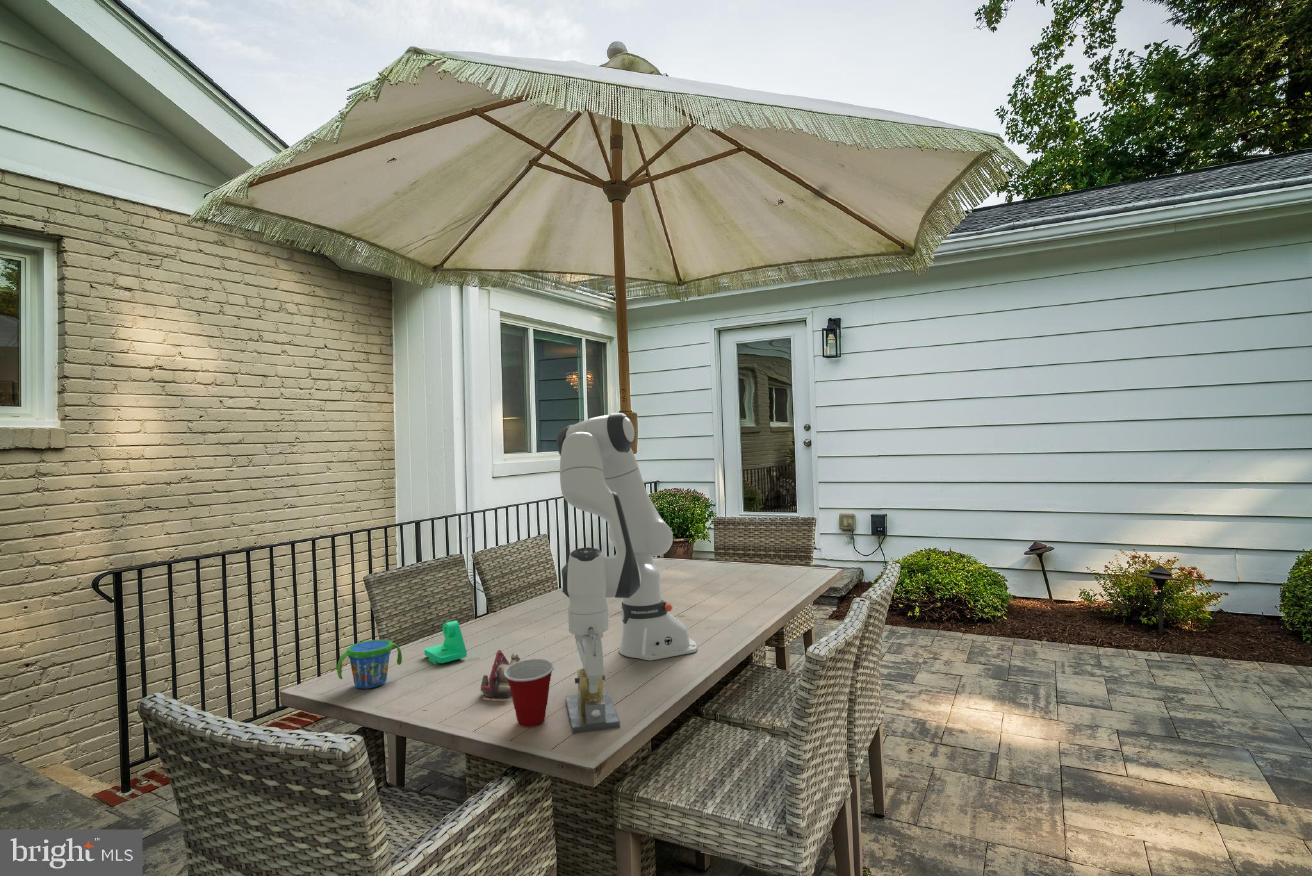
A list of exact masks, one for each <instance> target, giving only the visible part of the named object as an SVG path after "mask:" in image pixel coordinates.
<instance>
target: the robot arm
mask: <svg viewBox="0 0 1312 876" xmlns="http://www.w3.org/2000/svg"><path fill="white" fill-rule="evenodd" d="M635 440H636V432H635V427H634V423H633V421H632V420H631V418H630V417H629V416H627V415H626V414H625V413H623V412H612V413H609V414H605V415H600V416H594V417H591V418H590V417H589V418H588V419H586V420H583V421H580V422H577V423H575V424H569V425H567V426H565V427H563V428H561V430H560V431H558V434H557V437H556V440H555V441H556V448H557V452H558V454H559V456H560V460H559V462H560V463H559V482H560V491H561V495H562V497H563V498H564V500H565V501H566V502H567V503H568V504H570V506H572V507H574V508H576V509H578V510H580V511H583V512H585V513H590V514H593V515H595V516H598V517H600V518H602V519H603V520H605V521H606V522H607V523H608V526H609V528H608V536H609V539H610V541H611V543H612V545H613V547H614V548H615V549H614V550H615V552H616V553H615V555H611V556H604V554H603V552H602V550H600V549H598V548H595V547H589V546H588V547H586V546H585V547H581V548H577V549H574V550H572V551H571V552H570V553H569V557H568V562H567V563H566V564H565V565H564V566H563V567H562V568H561V578H562V579H561V580H562V591H561V592H562V593H563V594H564V595H565V596H566V597H567V598H568V599H569V603H568V608H567V611H568V612H567V613H568V614H567V615H568V616H567V617H568V618H567V619H568V632H569V634H572V635H574V639H575V643H576V648H577V652H578V655H579V658H580V660H581V663H582V666H583V668H582V669H584V670H585V673H586V676H587V678H589V692H590V693H597V692H598V679H599V677H602V676H603V675H605V673H604V671H605V668H604V667H605V666H604V654H603V653H604V652H603V644H602V640H601V639H602V638H603V637H604V633H605V632H606V631H608V630H609V611H608V610H609V609H608V602H607V599H608V598H609V599H610V598H615V599H622V601H621V609H620V610H621V621H622V632H621V641H620V644H619V645H620V646H619V648H618V649H619V650H618V652H619V654H621V655H622V656H624V657H627V658H628V657H629V658H635V659H641V660H645V661H655V660H661V659H666V658H671V657H676V656H681V655H687V654H692V653H696V652H697V650H698V645H697V643H696V641H695V640H694V639H692V638H690V637H689V633H688V629H687V627H686V625H685V624H684V622H682V621H681V620H679V619H678V618H676V617H675V616H674V615H672V614H671V613H669V612H671V611H672V610H673V605H672V604H671V603H670V602H668V601H665V600H664V599H662V595H661V594H662V591H661V589H662V588H661V575H660V574H661V573H660V571H659V569H658V568H657V566H656V564H655V561H654V559H653V557H659V556H660V557H661V556H662V555H664V554H666V553H667V552H668V551H669V550H670V548H671V547H672V545H673V541H674V535H673V531H672V529H671V527H670V526H669V525H668V524H667V523H666V522H665V521H664V519H663V518H662V517H661V515H660V514H659V511H658V510H657V508H656V507H655V504H654V503H653V501H652V500H651V498H650V496H649V494H648V492H647V489H646V486H645V483H644V480H643V477H642V474H641V471H640V467H639V465H638V461H637V459H636V455H635V453H634V451H633V449H632V447H633V445H634V442H635ZM606 598H607V599H606Z"/></svg>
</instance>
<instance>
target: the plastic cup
mask: <svg viewBox="0 0 1312 876" xmlns="http://www.w3.org/2000/svg"><path fill="white" fill-rule="evenodd" d="M554 668H555V666H554V663H553V662H552V661H551V660H549V659H545V658H529V659H522V660H519V662H516V663H514V664H512V665H510V666H508V667H507V668H506V669H505V670H504V676H505V677H506V678H507V680H508V682H509V686H510V689H511V693H510V695H511V699H512V704H513V708H514V710H515V716H516V720H517V723H518V725H519V726H521V727H524V728H531V727H536V726H539V725H542V724H543V723H544V721H545V718H546V713H547V706H548V700H549V699H548V698H549V691H550V684H551V680H552V679H551V678H552V674H553V670H554Z"/></svg>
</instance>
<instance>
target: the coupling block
mask: <svg viewBox="0 0 1312 876" xmlns="http://www.w3.org/2000/svg"><path fill="white" fill-rule="evenodd" d="M576 672H577V674H576V675H577V677H575V678H574V684H575V685H576V684H577V695H578V705H579V709H580V713H581V714H585V702H586V701H588V700H590V699H592V698H595V699H597V700H602V699H603V692H604V688H603V687H604V686H603V685H604V684H603V681H606V676H605V674H603V676H602V677H599V679H598V692H597V693H590V692H589V678H587V676H586V673H585V670H584V668H581V669H577V671H576Z"/></svg>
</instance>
